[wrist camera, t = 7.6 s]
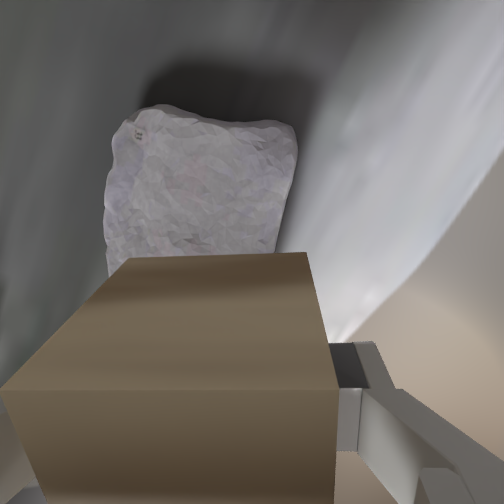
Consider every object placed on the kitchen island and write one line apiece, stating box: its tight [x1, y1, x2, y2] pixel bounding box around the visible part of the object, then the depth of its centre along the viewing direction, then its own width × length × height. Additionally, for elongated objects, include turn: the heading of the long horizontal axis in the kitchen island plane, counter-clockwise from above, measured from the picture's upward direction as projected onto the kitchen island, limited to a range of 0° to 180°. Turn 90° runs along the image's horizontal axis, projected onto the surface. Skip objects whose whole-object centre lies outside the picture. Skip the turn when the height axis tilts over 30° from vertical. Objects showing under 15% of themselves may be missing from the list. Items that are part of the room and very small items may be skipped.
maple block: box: [0, 252, 339, 504], centre depth 8 cm, size 5×5×5 cm
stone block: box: [103, 104, 298, 277], centre depth 19 cm, size 12×5×10 cm
